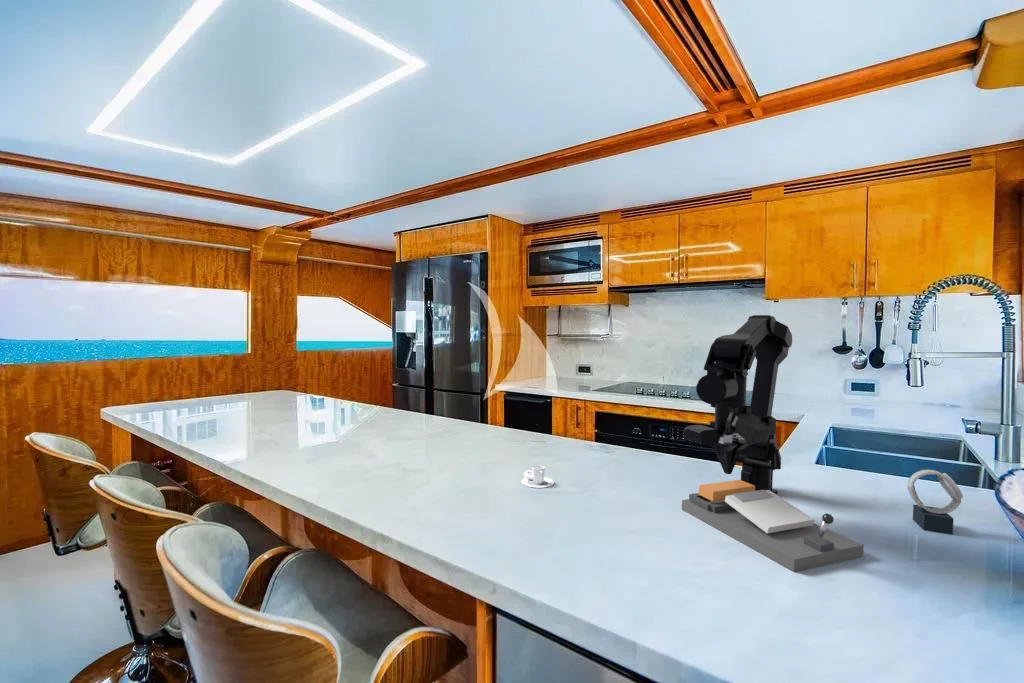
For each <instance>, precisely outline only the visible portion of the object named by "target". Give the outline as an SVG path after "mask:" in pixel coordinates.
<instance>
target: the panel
mask: <svg viewBox="0 0 1024 683" xmlns="http://www.w3.org/2000/svg"><path fill="white" fill-rule="evenodd" d="M681 510H682V511H683V512H685V513H687V514H689V515H691V516H693V517H695V518H696V519H698V520H700V521H702V522H703V523H706V524H707V525H709V526H711V527H713V528H715V529H716V530H719V531H720V532H721V533H723V534H725V535H727V536H728V537H730V538H733V540H736V541H738V542H740V543H741V544H743V545H745V546H747V547H748V548H750V549H751V550H754V551H756V552H757V553H759V554H761V555H763V556H765V557H766V558H768V559H770V560H772V561H774V562H775V563H777V564H779V565H780V566H782V567H784V568H786V569H787V570H790V571H792V572H793V573H794V572H795V573H796V572H800V571H803V570H804V571H805V570H808V569H813V568H818V567H822V566H826V565H830V564H835V563H839V562H844V561H849V560H853V559H857V558H862V557H864V545H865V544H864V543H863V544H862V543H861V542H859V541H856V540H853V539H851V538H849V537H847V536H844V535H841V534H839V533H837V532H835V531H832V530H830V529H828V528H827V530H826V532H825V534H824V536H823V537H822V538H819V537H818V536H817V533H818V530H819V528H820V526H821V525H819V524H816V523H815V522H814V523H813V525H812V526H806V527H800V528H795V529H789V530H784V531H778V532H773V533H766V532H765V531H763V530H762V529H761V528H759V527H758V526H757V525H755V524H754V523H753V522H751V521H750V520H749V519H747V518H746V517H745V516H744V515H742V514H741V513H740V512H738V511H737V510H736V509H734V508H733V507H732V506H730V505H729V504H728V503H726V502H725V500H720V501H711V500H709V499H707V498H705V497H703V496H701V495H699V492H695V493H689V494H688V498H686V499H682V500H681Z"/></svg>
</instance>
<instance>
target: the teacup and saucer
mask: <svg viewBox="0 0 1024 683" xmlns="http://www.w3.org/2000/svg"><path fill="white" fill-rule="evenodd" d="M545 470H546V466H544V465H538V464H537V465H532V466H531V470H530V469H528V470H526V471H524V472H523V476H524V478H523V479H521V482H520V483H521V484H522V485H524V486H526V487H528V488H529V487H530V488H536V489H537V488H538V489H540V488H541V489H542V488H549V487H551V486H553V485H554V484H555V481H554V480H553V479H552V478H550V477H545V474H546V472H545ZM529 481H532V482H533V483H534V484H537V485H533V484H529V483H528V482H529ZM544 481H545V482H547V484H544V485H541V484H543V483H544Z"/></svg>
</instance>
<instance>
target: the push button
mask: <svg viewBox="0 0 1024 683" xmlns="http://www.w3.org/2000/svg"><path fill="white" fill-rule="evenodd" d="M750 491H755V486H754V485H752V484H749V483H747V482H744V481H742V480H741V479H737V480H736V479H735V480H728V481H721V482H713V483H712V482H711V483H704V484H698V493H699V495H701V496H703V497H705V498H707V499H709V500H711V501H720V500H725V497H726V496H728V495H732V494H736V493H743V492H750Z"/></svg>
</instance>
